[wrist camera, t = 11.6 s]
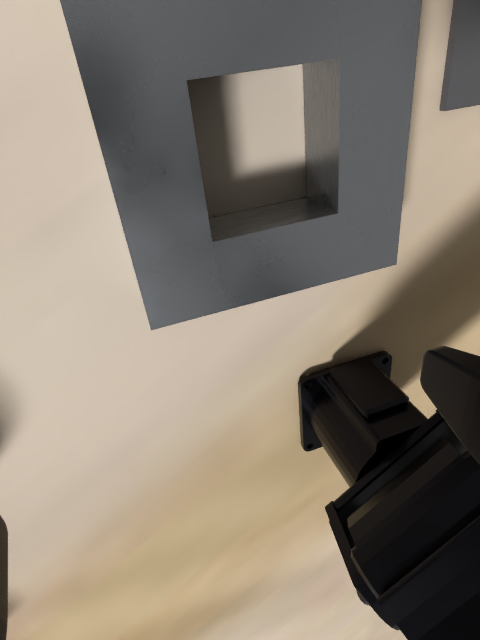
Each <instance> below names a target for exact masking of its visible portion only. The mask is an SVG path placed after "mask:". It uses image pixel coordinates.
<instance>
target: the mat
mask: <svg viewBox="0 0 480 640" xmlns="http://www.w3.org/2000/svg"><path fill="white" fill-rule="evenodd" d="M475 105H480V0H454V3H453V11H452V18H451V26H450V34H449V41H448V49H447V57H446V65H445V72H444V80H443V88H442V96H441V103H440V111H448V110H453V109H459V108H464V107H470V106H475Z"/></svg>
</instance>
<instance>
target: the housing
mask: <svg viewBox="0 0 480 640" xmlns="http://www.w3.org/2000/svg"><path fill="white" fill-rule="evenodd" d="M60 2H61V5H62V9H63V13H64V16H65V20H66V23H67V27H68V31H69V34H70V38H71V41H72V45H73V49H74V52H75V56H76V60H77V63H78V67H79V70H80V74H81V78H82V81H83V85H84V89H85V92H86V96H87V99H88V103H89V107H90V110H91V114H92V117H93V121H94V125H95V128H96V132H97V136H98V139H99V143H100V146H101V150H102V154H103V157H104V161H105V165H106V168H107V172H108V175H109V179H110V183H111V186H112V190H113V193H114V197H115V201H116V204H117V208H118V212H119V215H120V219H121V222H122V226H123V230H124V233H125V237H126V241H127V244H128V248H129V251H130V255H131V259H132V262H133V266H134V270H135V273H136V277H137V280H138V284H139V288H140V291H141V295H142V298H143V302H144V306H145V309H146V313H147V317H148V320H149V324H150V327H151V330H154V329H158V328H161V327H165V326H169V325H173V324H176V323H180V322H184V321H187V320H191V319H195V318H199V317H202V316H206V315H210V314H214V313H217V312H221V311H225V310H228V309H232V308H236V307H240V306H243V305H247V304H251V303H255V302H258V301H262V300H266V299H269V298H273V297H277V296H281V295H284V294H288V293H292V292H296V291H299V290H303V289H307V288H310V287H314V286H318V285H322V284H325V283H329V282H333V281H337V280H340V279H344V278H348V277H351V276H355V275H359V274H363V273H366V272H370V271H374V270H378V269H381V268H385V267H389V266H392V265H396V264H397V253H398V243H399V232H400V222H401V212H402V201H403V191H404V181H405V170H406V160H407V149H408V139H409V129H410V118H411V108H412V97H413V87H414V77H415V66H416V56H417V46H418V35H419V25H420V14H421V4H422V0H60ZM298 64H303V82H304V118H305V154H306V190H307V197H305V198H300V199H296V200H291V201H287V202H282V203H277V204H273V205H268V206H264V207H259V208H254V209H250V210H245V211H240V212H236V213H231V214H227V215H222V216H217V217H213V218H208V211H207V205H206V199H205V193H204V186H203V180H202V174H201V167H200V161H199V155H198V149H197V142H196V136H195V130H194V123H193V117H192V111H191V105H190V98H189V92H188V86H187V80H192V79H200V78H207V77H214V76H221V75H228V74H235V73H242V72H249V71H256V70H263V69H270V68H277V67H284V66H291V65H298Z"/></svg>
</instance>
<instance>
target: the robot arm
mask: <svg viewBox="0 0 480 640" xmlns="http://www.w3.org/2000/svg"><path fill="white" fill-rule="evenodd" d="M391 364H392V356H391V355H390V354H389V353H388V352H386V351H382V352H379V353H376V354H372V355H369V356H366V357H363V358H360V359H357V360H354V361H350V362H347V363H344V364H341V365H338V366H335V367H331V368H328V369H325V370H322V371H319V372H316V373H313V374H309V375H306V376H304V377H302V378H301V379H300V380H299V382H298V394H299V414H300V433H301V445H302V447H303V449H304V450H305V451H312V450H314V449H317V448H320V447H324V449H325V450H326V452H327V453H328V455H329V457H330V458H331V460H332V461H333V463H334V464H335V466H336V467H337V469H338V470H339V472H340V473H341V475H342V476H343V478H344V479H345V481H346V482H347V484H348V485H349V487H350V488H349V489H348V490H347V491H345V492H344V493H343V494H342V495H341V496H340V497H339V498H337V499H336V500H335V501H334V502H333V501H331V502H330V503H329V504H328V505H327V506H326V507H325V510H326V512H327V515H328V517H329V520H330V521H329V523H330V526H331V528H332V531H333V533H334V536H335V539H336V541H337V544H338V546H339V549H340V552H341V554H342V557H343V559H344V562H345V564H346V567H347V570H348V572H349V575H350V577H351V580H352V583H353V585H354V586H355V588H356V591H357V595H358V597H359V598H360V600H361V601H362V602H363V603H364V604H366V605H369V606H371V607H372V608H373V610H374V611H375V612H376V613H377V614H378V615H379V617H380V618H381V619H382V620H383V621H384V622H385V623H387V624H388V625H389V626H390V627H392V628H394V629H396V630H401V631H402V633H403V634H404V635H405V637H406V638H407V639H408V640H480V356H477V355H474V354H470V353H467V352H464V351H460V350H457V349H454V348H450V347H447V346H440V347H437V348H434V349H430V350H428V351H426V353H425V354H424V357H423V364H422V370H421V377H420V382H421V386H422V388H423V390H424V391H425V393H426V394H427V396H428V397H429V398H430V400H431V401H432V403H433V404H434V405H435V407H436V408H437V410H436V413H435V414H434V415H433V416H431V417H430V418H429V419H428V418H427V417H426V416H424V415H423V414H422V413H421V412H420V411H419V410H418V409H417V408H416V407H415V406H414V405H413V404H412V403H411V402H410V401H409V397H408V396H407V395H406V394H405V393H404V392H403V391H402V390H401V389H400V388H399V387H398V386H397V385H396V384H395V383H394V382H393V381H392V380H391V379H390V373H391ZM307 383H308V384H307ZM305 384H307V385H305ZM7 617H8V531H7V527H6V524H5V522H4V520H3V518H2V517H1V516H0V640H6V634H7Z"/></svg>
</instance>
